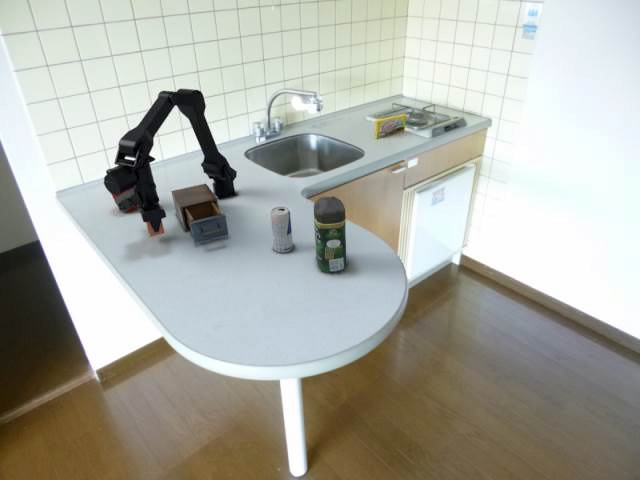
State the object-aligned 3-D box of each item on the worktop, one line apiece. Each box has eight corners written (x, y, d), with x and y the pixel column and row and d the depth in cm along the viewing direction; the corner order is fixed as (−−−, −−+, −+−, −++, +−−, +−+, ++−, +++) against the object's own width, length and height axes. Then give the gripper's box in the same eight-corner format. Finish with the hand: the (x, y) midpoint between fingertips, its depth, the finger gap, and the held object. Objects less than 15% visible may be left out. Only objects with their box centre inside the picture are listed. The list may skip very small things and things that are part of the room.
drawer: (233, 241, 136) (230, 221, 132) (198, 251, 132) (194, 230, 129) (217, 217, 149) (213, 198, 145) (185, 225, 145) (181, 206, 142)
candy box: (376, 139, 209) (377, 121, 205) (374, 138, 211) (374, 120, 207) (405, 132, 216) (406, 114, 212) (402, 131, 218) (403, 113, 213)
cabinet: (221, 222, 148) (217, 198, 144) (185, 231, 144) (180, 207, 139) (210, 206, 158) (205, 183, 154) (176, 214, 154) (171, 191, 150)
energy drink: (295, 244, 135) (292, 207, 128) (288, 254, 130) (285, 216, 124) (278, 242, 136) (275, 205, 130) (271, 251, 132) (267, 214, 126)
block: (162, 227, 142) (158, 214, 139) (164, 233, 138) (161, 220, 136) (147, 230, 140) (144, 218, 138) (150, 236, 137) (146, 224, 135)
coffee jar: (314, 255, 129) (311, 195, 120) (342, 252, 130) (341, 192, 120) (318, 275, 121) (315, 212, 111) (348, 272, 122) (348, 209, 112)
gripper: (109, 175, 135) (123, 222, 143) (116, 199, 120) (131, 250, 128) (148, 167, 139) (160, 213, 147) (160, 190, 124) (172, 240, 133)
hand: (155, 228), depth 139 cm, fingers closed on block, 4 cm apart
